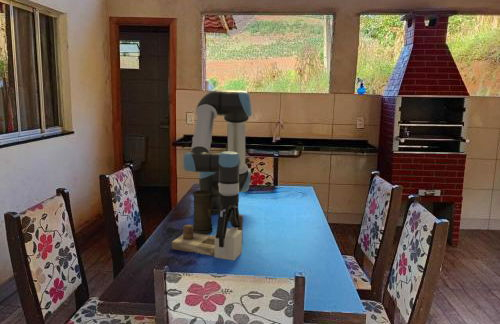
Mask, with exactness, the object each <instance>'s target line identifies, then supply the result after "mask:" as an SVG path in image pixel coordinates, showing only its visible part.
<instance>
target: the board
mask: <svg viewBox="0 0 500 324" xmlns="http://www.w3.org/2000/svg"><path fill="white" fill-rule="evenodd" d="M193 225H194V224H185V225H183V226H182V233H183V234H181V235H180V236H178V237H177V238H175V239H174V240H173V241H171V249H172V250H177V251H183V252H188V253H193V252H195V253H194V254H199V253H200V254H201V255H205V254H206V255H207V256H214V257H215V235H211V234H210V235H209V234H198V233H194V232H193ZM206 255H205V256H206Z"/></svg>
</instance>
